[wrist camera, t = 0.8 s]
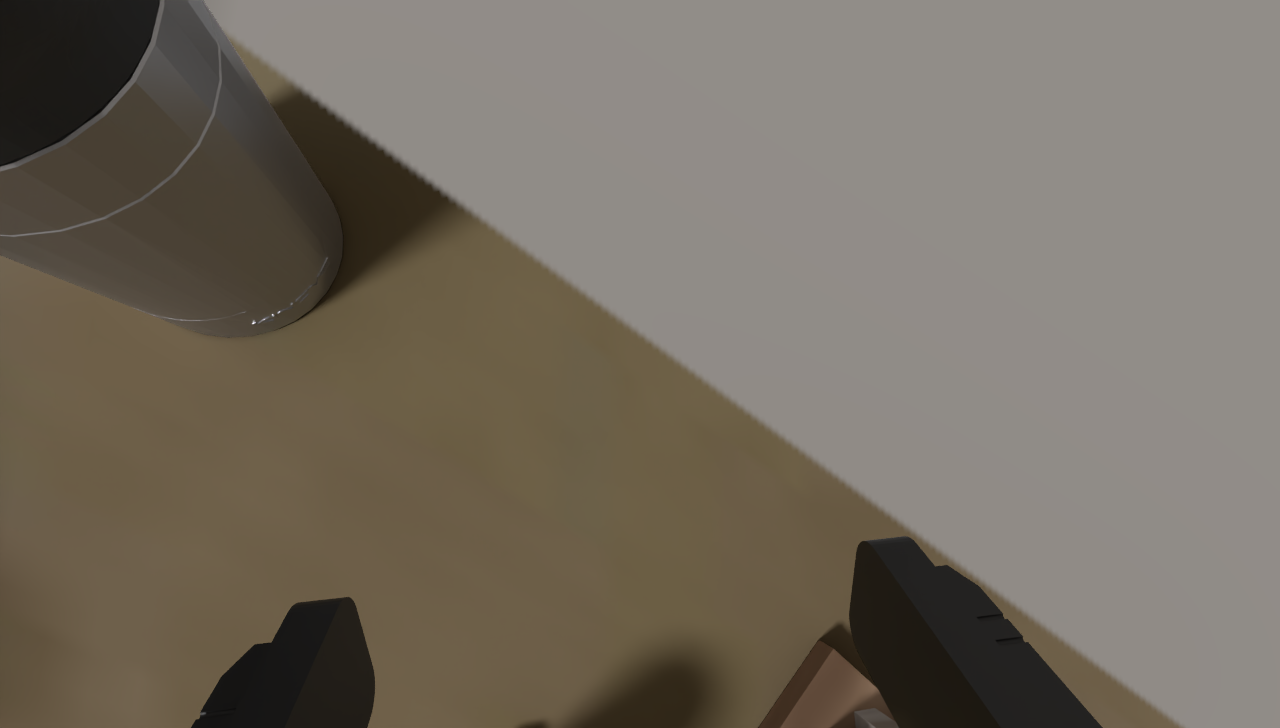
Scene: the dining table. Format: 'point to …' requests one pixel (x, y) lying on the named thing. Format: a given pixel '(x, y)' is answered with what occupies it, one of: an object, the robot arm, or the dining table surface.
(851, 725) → the plate
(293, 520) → the dining table surface
